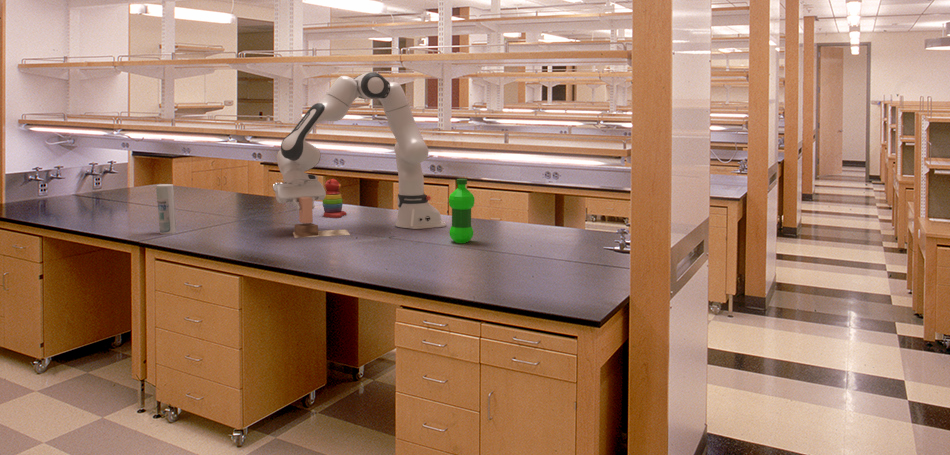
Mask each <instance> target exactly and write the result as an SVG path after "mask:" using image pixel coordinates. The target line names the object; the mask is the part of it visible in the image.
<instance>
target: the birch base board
mask: <svg viewBox="0 0 950 455" xmlns="http://www.w3.org/2000/svg"><path fill="white" fill-rule="evenodd" d="M292 234H293V237H294V238H295V239H297V238H302V237H301V236H298V235H296V234H295V231H292ZM333 236H334V237H336V236H339V237H340V236H351V234H350V232H349V231H348V230H347V229H330V230H329V229H326V230H318V235H315V236H306V237H305V238H316V237H333Z"/></svg>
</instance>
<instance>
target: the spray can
mask: <svg viewBox="0 0 950 455" xmlns="http://www.w3.org/2000/svg"><path fill="white" fill-rule="evenodd" d="M155 189H156V202H157V212H158V213H157V214H158V225H159V233H160V234H161V235H172V234H176V233H177V225H176V224H177V222H176V220H177V219H176V206H175V191H174V184H172V183H171V184H170V183H163V184H161V183H160V184H156V186H155Z"/></svg>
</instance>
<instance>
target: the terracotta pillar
mask: <svg viewBox="0 0 950 455" xmlns="http://www.w3.org/2000/svg"><path fill="white" fill-rule="evenodd" d="M298 204H301V206H302V209H301V210H298V218H299V219H298V220H299V223H300V224H304V223H313V220H314V219H313V217H314V216H313V215H314V214H313V209H312V198H310V197H300V198H299V202H298ZM313 224H314V223H313Z"/></svg>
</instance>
